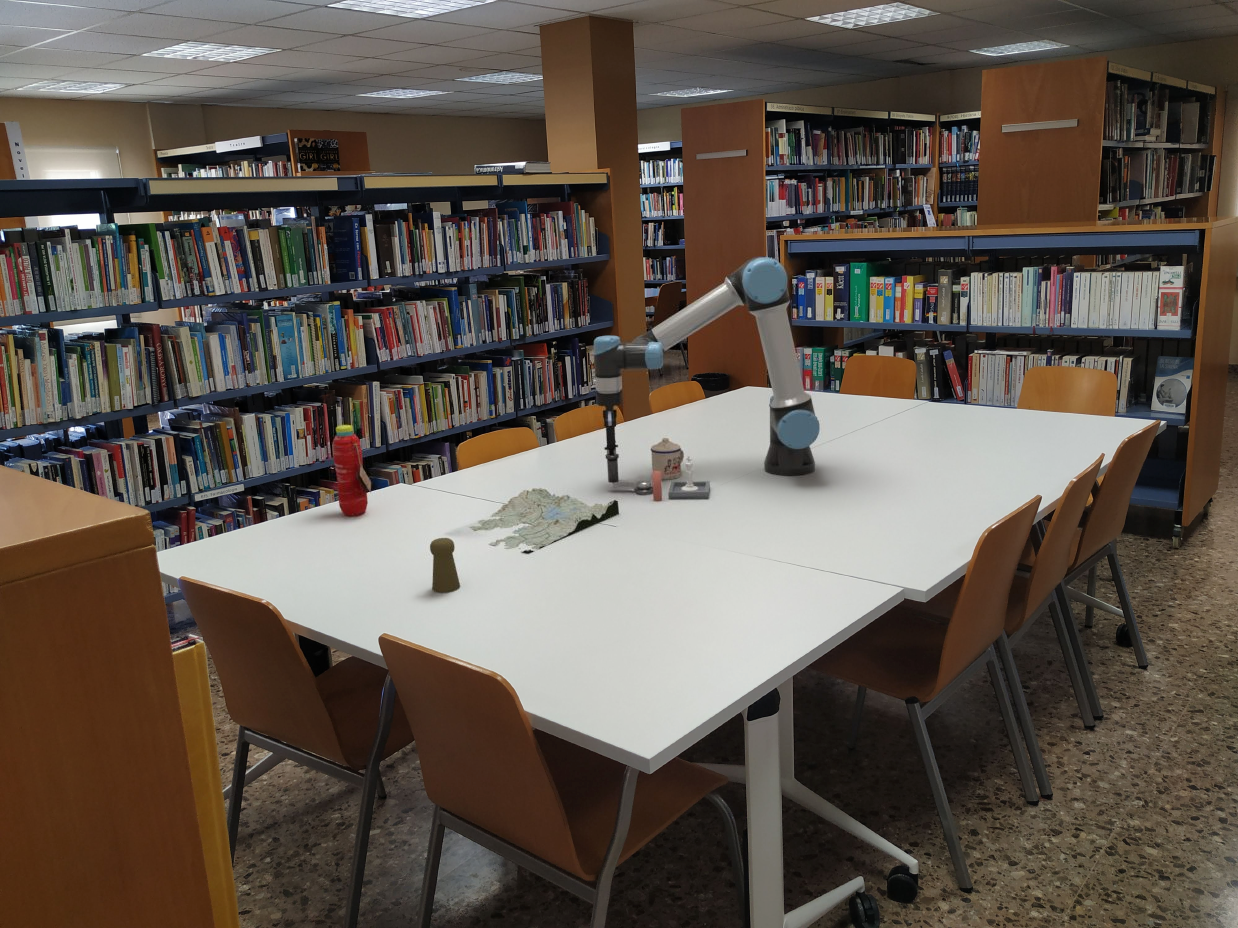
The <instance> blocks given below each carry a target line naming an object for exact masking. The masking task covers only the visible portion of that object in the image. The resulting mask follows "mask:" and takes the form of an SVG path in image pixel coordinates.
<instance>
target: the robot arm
mask: <svg viewBox="0 0 1238 928" xmlns="http://www.w3.org/2000/svg"><path fill="white" fill-rule="evenodd" d="M790 303H791V299H790V294H789V290H788V275H787V272H786V269H785V268H784V267H783V265H782V264H781V263H780V262H779V261H777V260H776V259H775V258H771V257H767V256H755V257H751V258H750V259H748V260H747V261H745V262H744V263H743V264H742V265H741V266H740V267H739V268H737V269H736V270H735V271H733V272H732V273H730V274H729V275H727V276H726V277H725V279H724V282H723V283H722V284H720V285H718V286H716V287H715V288H714V289H712V290H710V291H709V292H707V293H706V294H704V295H703V296H701V297H699V299H696V300H695V301H693V302H692V303H690V304H689V305H687V306H685V307H684V308H682V309H681V310H680V311H678V312H676V313H675V314H673V315H671V316H670V317H668V318H667V319H665V320H664V321H662V322H661V323H659V324H658V325H656V326H654V327H653V328H651V329H650V330H649V331H646V332H645V333H644V334H641V335H639V336H637V337H635V338H633V340H632V342H621V337H619V336H617V335H602V336H598V337H596V338H595V339H594V340H593V363H594V365H593V366H594V377H595V379H593V381H592V382H593V384H595V391H596V393H595V401H596V402H595V403H596V406H599V407H605V409H603V410H602V418H603V423H604V424H603V426H604V428H605V434H606V435H605V437H606V446H605V447H604V451H606V454H611V453H616V454H617V448H619V444H616V443H617V441H616V427H617V416H618V414H617V413H618V412H617V411H618V410H617V409H614V407H617V406H620V405H622V404H623V391H622V389H623V381H622V380H623V377H622V371H623V370H624V371H627V370H650V371H652V370H655V369H657V370H658V369H662V368H663V365H664V352H666V351H667V350H669V349H670V348H672V347H674V346H676V345H677V344H678V343H680V342H682V341H684V339H686V338H688V337H689V336H690V335H693V334H694V333H696V332H697V331H699V330H701V329H703V328H704V327H705V326H707V325H708V324H710V323H711V322H713V321H715V320H717V319H718V318H719V317H721V316H723V315H724V314H726V313H727V312H729V311H730V310H732V309H734V308H735V307H737V306H745V305H746V306H747V309H748V313H750V314H751V315H753V316H755V321H756V324H757V330H758V334H759V338H760V342H761V346H762V351H763V356H764V360H765V364H766V368H767V372H768V377H769V382H770V385H771V389H772V396H771V397H770V398H769V404H768V407H769V447H768V450H767V453H766V456H765V459H764V462H763V463H764V464H763V465H764V467H763V468H764V469H763V470H764V471H765V472H767V473H770V474H772V475H779V476H781V475H782V476H799V475H806V474H810V473H813V472H815V470H816V461H815V458H814V454H813V452H812V449H811V445H812V444H814V443H815V442H816V440H817V438H818V436H819V435H820V430H821V428H820V421H819V419H818V417H817V416H816V413H815V409H814V404H813V401H812V395H811V394H810V393H807V392H806V391H805V389H804V388H805V387H804V384H803V379H802V375H801V371H800V365H799V361H798V357H797V352H796V348H795V343H794V339H793V335H792V329H791V326H790V321H789V316H788V312H787V307H788V306H789V304H790Z"/></svg>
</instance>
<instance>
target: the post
mask: <svg viewBox="0 0 1238 928" xmlns="http://www.w3.org/2000/svg"><path fill="white" fill-rule="evenodd" d="M651 472H652V471H651ZM651 474H652V487H653V495H652V497H653V498H652V499H653V501H655V502H660V501H663V490H662V489H663V488H662V479H661V471H653V472H652V473H651Z"/></svg>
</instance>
